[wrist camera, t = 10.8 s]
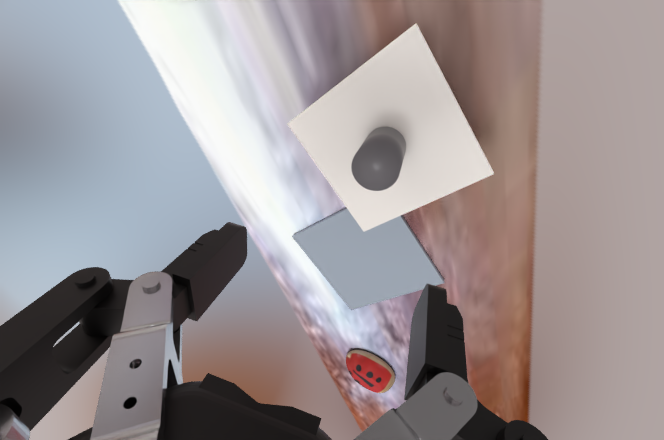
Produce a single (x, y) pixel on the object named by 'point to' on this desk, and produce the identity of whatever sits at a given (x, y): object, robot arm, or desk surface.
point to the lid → (392, 134)
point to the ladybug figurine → (370, 371)
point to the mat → (368, 258)
